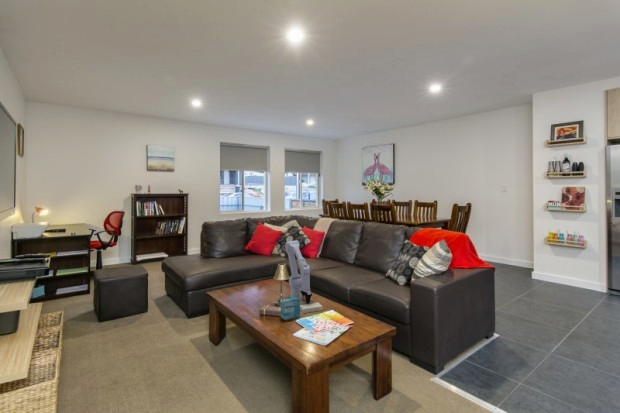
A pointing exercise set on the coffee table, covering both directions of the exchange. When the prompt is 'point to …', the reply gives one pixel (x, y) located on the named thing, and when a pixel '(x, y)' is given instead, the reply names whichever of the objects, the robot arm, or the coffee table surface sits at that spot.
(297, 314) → the data package
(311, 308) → the dock
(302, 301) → the wooden box
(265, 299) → the coffee table surface
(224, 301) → the coffee table surface
